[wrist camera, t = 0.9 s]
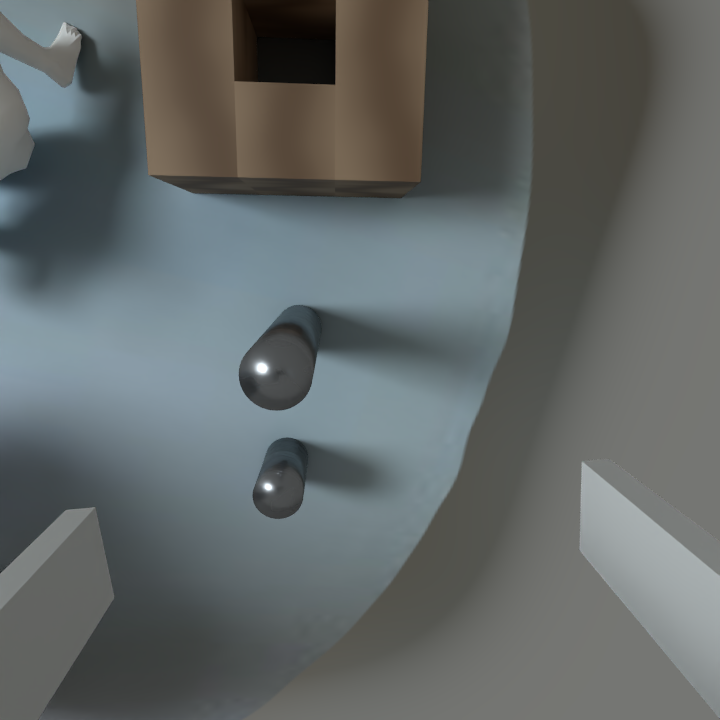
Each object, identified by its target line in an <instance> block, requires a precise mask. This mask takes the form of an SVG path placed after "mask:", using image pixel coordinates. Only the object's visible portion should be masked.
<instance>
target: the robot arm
mask: <svg viewBox="0 0 720 720" xmlns="http://www.w3.org/2000/svg"><path fill="white" fill-rule="evenodd" d="M581 477H582V478H581V512H580V514H581V515H580V552H581V553H582V554H583V555H584V556H585V558H586V559H587V560H588V561H589V562H590V564H591V565H592V566H593V567H594V568H595V570H596V571H597V572H598V573H599V574H600V576H601V577H602V578H603V579H604V580H605V582H606V583H607V584H608V585H609V586H610V588H611V589H612V590H613V591H614V592H615V594H616V595H617V596H618V597H619V598H620V600H621V601H622V602H623V603H624V604H625V606H626V607H627V608H628V609H629V610H630V612H631V613H632V614H633V615H634V616H635V618H636V619H637V620H638V621H639V622H640V624H641V625H642V626H643V627H644V628H645V630H646V631H647V632H648V633H649V634H650V636H651V637H652V638H653V639H654V641H655V642H656V643H657V644H658V645H659V647H660V648H661V649H662V650H663V651H664V653H665V654H666V655H667V656H668V657H669V659H670V660H671V661H672V662H673V663H674V665H675V666H676V667H677V668H678V669H679V671H680V672H681V673H682V674H683V675H684V677H685V678H686V679H687V680H688V681H689V683H690V684H691V685H692V686H693V687H694V689H695V690H696V691H697V692H698V693H699V695H700V696H701V697H702V698H703V699H704V701H705V702H706V703H707V704H708V705H709V707H710V708H711V709H712V710H713V711H714V713H715V714H716V715H717V716H718V717H719V719H720V541H719V540H718V539H717V538H715V537H714V536H713V535H711V534H710V533H709V532H707V531H706V530H705V529H703V528H702V527H701V526H699V525H698V524H696V523H695V522H694V521H692V520H691V519H690V518H688V517H687V516H686V515H684V514H683V513H682V512H680V511H679V510H678V509H676V508H675V507H674V506H672V505H671V504H670V503H668V502H667V501H666V500H664V499H663V498H662V497H660V496H659V495H658V494H656V493H655V492H653V491H652V490H651V489H649V488H648V487H647V486H645V485H644V484H642V483H641V482H640V481H639V480H637V479H636V478H635V477H633V476H632V475H630V474H629V473H628V472H626V471H625V470H624V469H622V468H621V467H620V466H618V465H617V464H616V463H614V462H613V461H611V460H610V459H600V460H589V461H582V475H581ZM114 598H115V597H114V592H113V588H112V583H111V578H110V573H109V569H108V564H107V559H106V554H105V550H104V545H103V540H102V535H101V531H100V526H99V521H98V516H97V512H96V507H91V508H80V509H70V510H65V511H64V512H63V513H62V514H61V515H60V516H59V517H58V518H57V519H56V520H55V521H54V522H53V523H52V524H51V525H50V526H49V527H48V528H47V529H46V530H45V531H44V532H43V533H42V534H41V535H40V536H39V537H38V538H36V539H35V540H34V541H33V542H32V543H31V544H30V545H29V546H28V547H27V548H26V549H25V550H24V551H23V552H22V553H21V554H20V555H19V556H18V557H17V558H16V559H15V560H14V561H13V562H12V563H11V564H10V565H9V566H8V567H7V568H6V569H5V570H3V571H2V572H1V573H0V720H38V719H39V717H40V716H41V714H42V713H43V711H44V709H45V708H46V706H47V705H48V703H49V702H50V700H51V698H52V697H53V695H54V694H55V692H56V690H57V689H58V687H59V686H60V684H61V682H62V681H63V679H64V678H65V676H66V674H67V673H68V671H69V670H70V668H71V666H72V665H73V663H74V662H75V660H76V658H77V657H78V655H79V654H80V652H81V651H82V649H83V647H84V646H85V644H86V643H87V641H88V639H89V638H90V636H91V635H92V633H93V631H94V630H95V628H96V627H97V625H98V623H99V622H100V620H101V619H102V617H103V615H104V614H105V612H106V611H107V609H108V607H109V606H110V604H111V603H112V601H113V600H114Z"/></svg>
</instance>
